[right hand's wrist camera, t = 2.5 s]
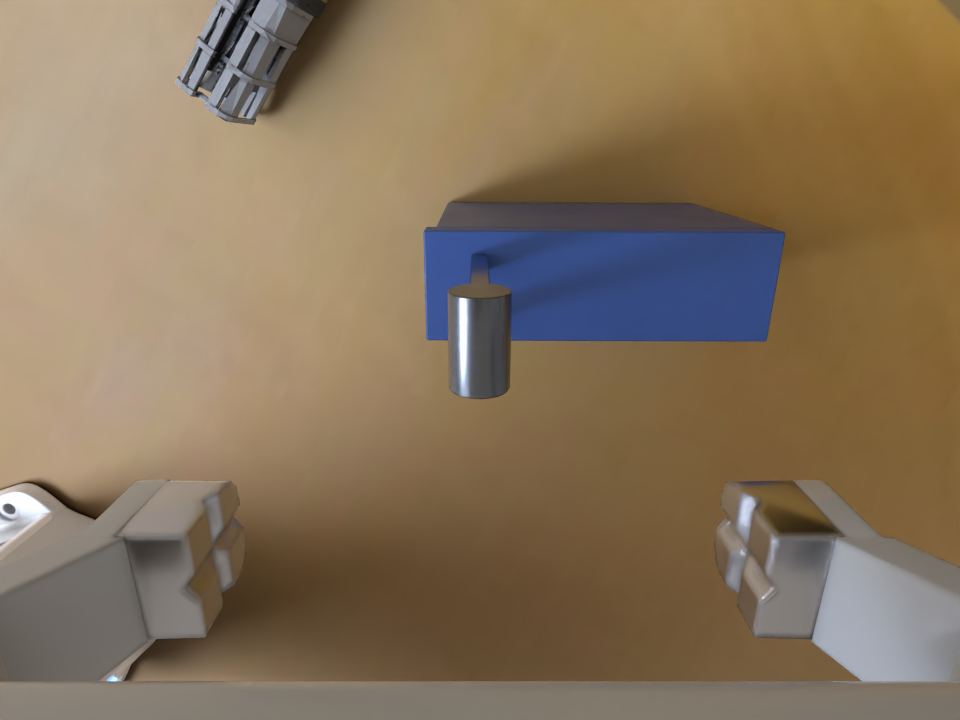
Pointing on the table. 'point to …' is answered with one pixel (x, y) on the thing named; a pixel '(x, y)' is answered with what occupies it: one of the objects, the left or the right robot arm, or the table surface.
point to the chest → (588, 216)
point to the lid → (590, 290)
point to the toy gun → (245, 53)
